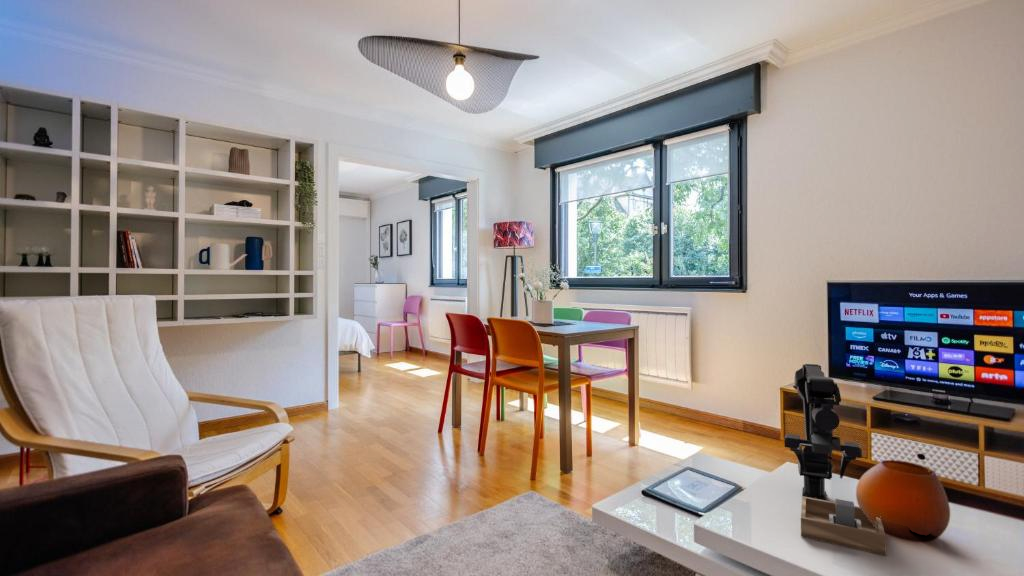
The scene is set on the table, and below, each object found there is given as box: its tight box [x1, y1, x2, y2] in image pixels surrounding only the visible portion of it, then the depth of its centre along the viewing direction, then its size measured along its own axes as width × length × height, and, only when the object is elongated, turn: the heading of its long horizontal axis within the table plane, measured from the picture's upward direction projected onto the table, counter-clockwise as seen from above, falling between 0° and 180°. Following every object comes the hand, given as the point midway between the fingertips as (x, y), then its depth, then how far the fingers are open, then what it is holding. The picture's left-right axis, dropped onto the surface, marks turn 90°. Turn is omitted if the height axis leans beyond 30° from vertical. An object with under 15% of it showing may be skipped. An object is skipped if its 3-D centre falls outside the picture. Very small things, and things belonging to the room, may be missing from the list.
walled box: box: [800, 495, 887, 557], centre depth 130 cm, size 16×18×5 cm
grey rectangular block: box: [834, 498, 855, 528], centre depth 128 cm, size 4×4×8 cm
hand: (822, 474), depth 140 cm, fingers open, 9 cm apart
